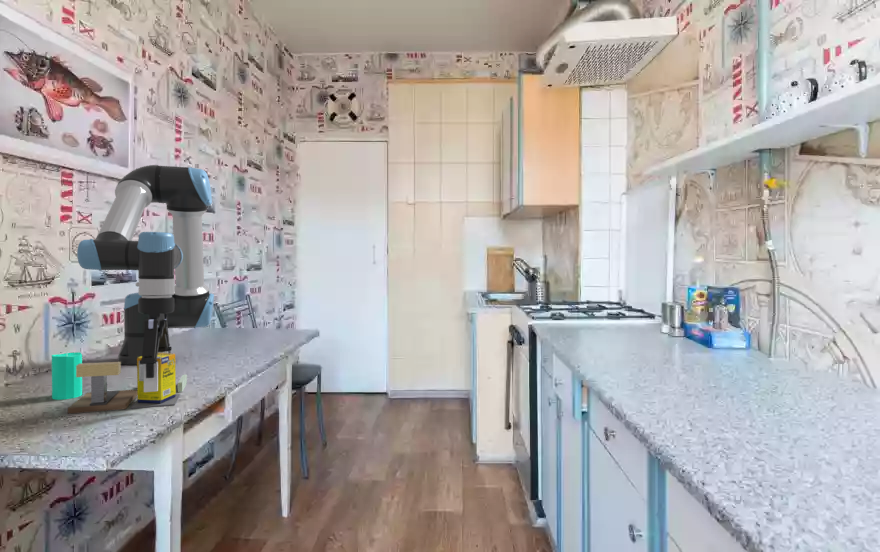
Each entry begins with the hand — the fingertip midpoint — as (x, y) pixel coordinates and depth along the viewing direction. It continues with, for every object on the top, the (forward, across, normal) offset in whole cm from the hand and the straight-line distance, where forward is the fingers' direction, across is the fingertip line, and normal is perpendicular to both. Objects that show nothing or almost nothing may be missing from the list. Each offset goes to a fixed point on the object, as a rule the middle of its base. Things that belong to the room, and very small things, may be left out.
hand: (156, 384), depth 118 cm
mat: (+4, 0, 0) cm, 4 cm away
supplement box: (+4, 0, 0) cm, 4 cm away
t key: (+2, +3, -11) cm, 12 cm away
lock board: (+4, -2, -11) cm, 12 cm away
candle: (+4, -11, -21) cm, 25 cm away
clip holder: (+4, -12, 0) cm, 13 cm away
